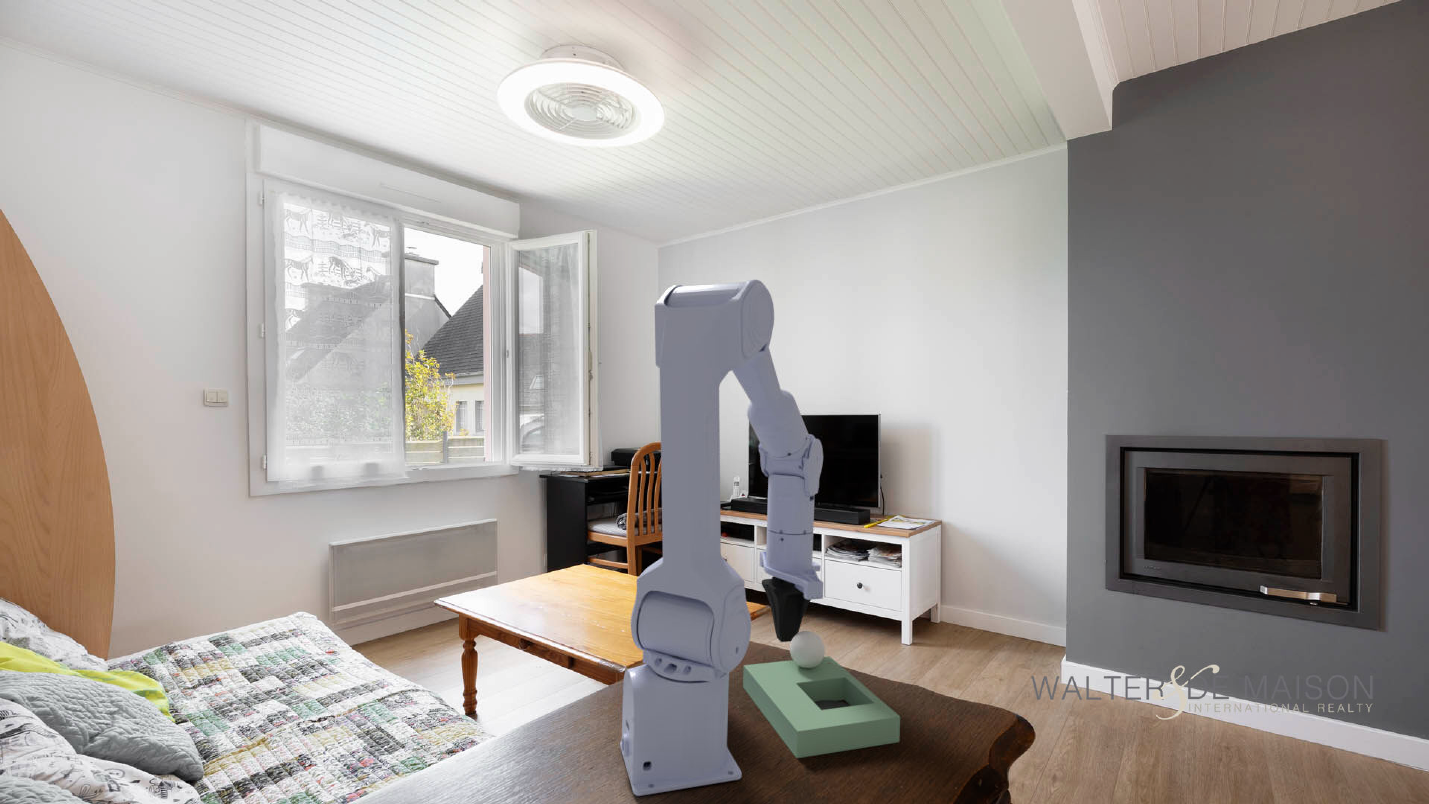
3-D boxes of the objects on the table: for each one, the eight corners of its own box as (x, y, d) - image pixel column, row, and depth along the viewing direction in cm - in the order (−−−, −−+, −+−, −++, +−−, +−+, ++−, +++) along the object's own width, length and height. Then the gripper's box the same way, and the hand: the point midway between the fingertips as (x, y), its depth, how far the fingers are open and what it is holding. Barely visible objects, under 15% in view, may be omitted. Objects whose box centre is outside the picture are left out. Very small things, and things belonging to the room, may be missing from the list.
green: (796, 758, 57) (797, 731, 57) (742, 687, 71) (743, 665, 71) (899, 742, 61) (900, 716, 61) (828, 676, 75) (829, 656, 75)
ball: (798, 676, 69) (799, 640, 69) (783, 661, 73) (784, 627, 73) (830, 672, 70) (831, 637, 70) (814, 657, 74) (815, 624, 74)
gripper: (848, 542, 71) (844, 660, 71) (794, 517, 85) (791, 616, 85) (792, 544, 69) (788, 666, 69) (746, 519, 83) (743, 620, 83)
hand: (786, 639), depth 77 cm, fingers closed
